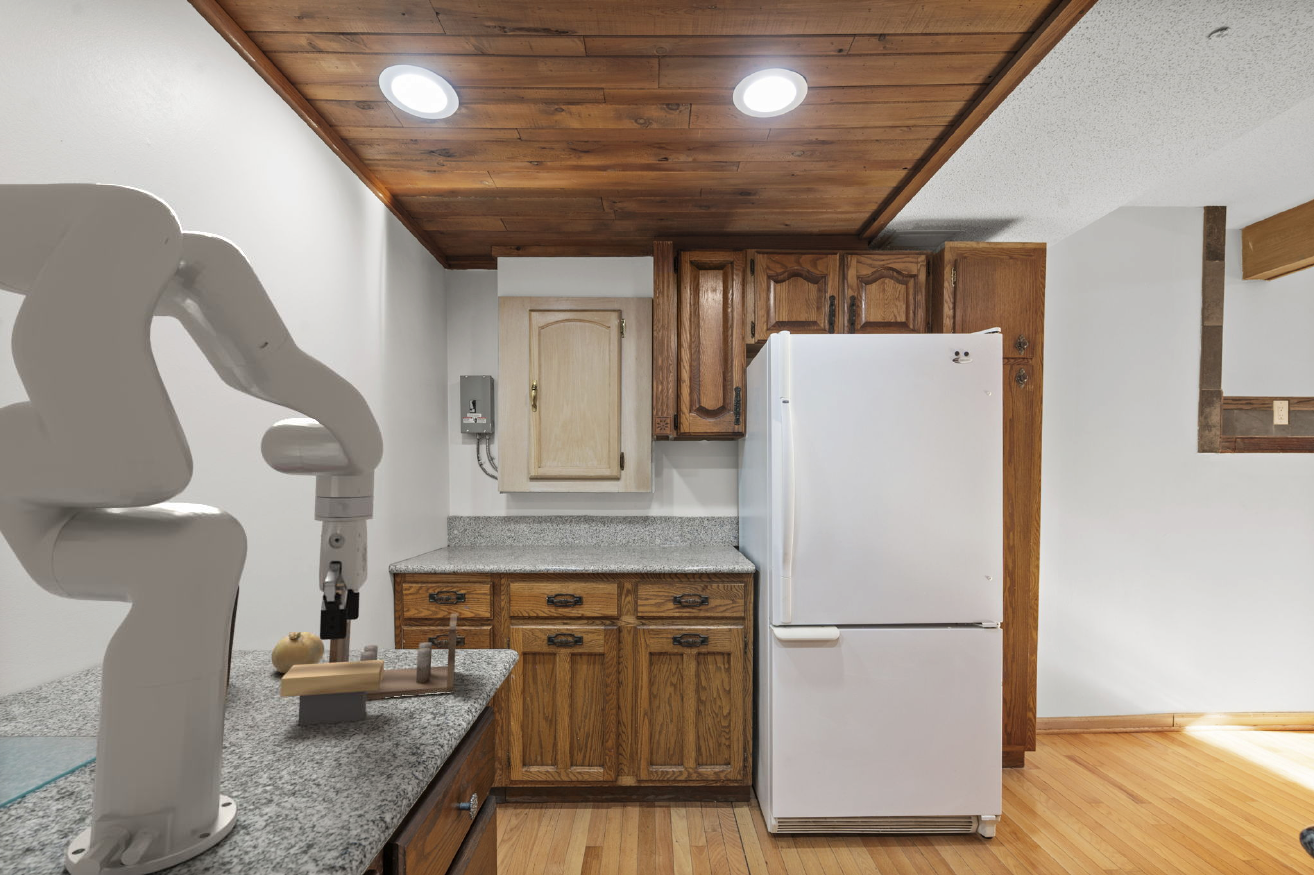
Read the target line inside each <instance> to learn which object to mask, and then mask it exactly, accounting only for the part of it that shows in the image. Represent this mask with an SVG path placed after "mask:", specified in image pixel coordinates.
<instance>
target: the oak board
mask: <svg viewBox="0 0 1314 875" xmlns="http://www.w3.org/2000/svg"><path fill="white" fill-rule="evenodd" d="M384 665H385V659H377V660H370V661H360V660H357V661H356V660H355V661H349V662H337V663H329V662H321V663H318V664H304V665H293V666H292V667H291V668H290V670H289V671H288V672H287V673H284V675H283V676H282V677H281V679H280V681H281V682H280V696H279V697H280V698H286V697H298V696H299V697H300V696H302V695H316V694H330V693H344V692H357V691H371V690H378V688H379V686H380V683H381V681H382V678H383V672H384V670H385V669H384V668H385V667H384Z"/></svg>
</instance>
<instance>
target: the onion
mask: <svg viewBox="0 0 1314 875" xmlns="http://www.w3.org/2000/svg"><path fill="white" fill-rule="evenodd" d="M324 654H325V645H324V642H323V640H321V639H320V636H319V635H316V634H314V633H312V632H310V631H302V632H299V631H289V634H288V635H286V636H284V637H283V638H281V639H280V640H279V641H278V642H277V643H276V645H275V646H274V648H273V650H272V651H271V657H270V658H271V664H272V666H273V668H275V669H276V671H277V672H279V673H281V674H286V673H287V672H288V671H289V670H290V668H291V667H292V666H293V665H304V664H319V662H320V661H321V660H322V658H323V656H324Z"/></svg>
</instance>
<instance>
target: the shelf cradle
mask: <svg viewBox="0 0 1314 875" xmlns="http://www.w3.org/2000/svg"><path fill="white" fill-rule="evenodd" d="M457 617H458V613H450V619H449V620H450V621H449V630H448V647H447V648H448V651H447V665H445V666H443V665H440V666H432V654H433V653H432V651H433V650H432V648H433V643H432V642H429V641H427V642H420V643H419V644H418V649H417V652H416V654H417V657H416V667H412V668H399V669H398V668H395V669H394V668H393V669H384V672H383V678H382V681H381V683H380V686H379V688H378V690H371V691H367V693H366V701H369V700H370V699H372V700H382V699H381V698H385V697H394V696H402V695H419V694H425V693H437V692H452V691H453V692H454V687H455V686H454V684H455V672H454V671H455V668H456V667H455V666H456V641H457V640H456V639H457V622H458V620H457ZM351 622H352V620H347V635H346V637H345V638H344V639H329V641H330V642H329V657H328V658H329V659H328V661H329V662H328V663H337V662H350V661H349V660H350V642H351ZM378 647H379V645H376V644H374V645H373V644H371V645H370V644H369V645H365V646H364V647H363V652H361V653H360V660H359V661H370V660H378V649H379V648H378ZM385 699H386V698H385ZM370 701H371V700H370Z"/></svg>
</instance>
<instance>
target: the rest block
mask: <svg viewBox="0 0 1314 875" xmlns="http://www.w3.org/2000/svg"><path fill="white" fill-rule="evenodd" d="M366 693H367V691H357V692H344V693H330V694H316V695H302V696H299V706H298V723H297V726H298V727H299V726H307V725H309V726H310V725H321V724H331V723H332V724H334V723H342V722H343V723H346V722H357V721H363V719H364V717H365V715H366V711H367V710H366V709H367V700H366Z"/></svg>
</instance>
